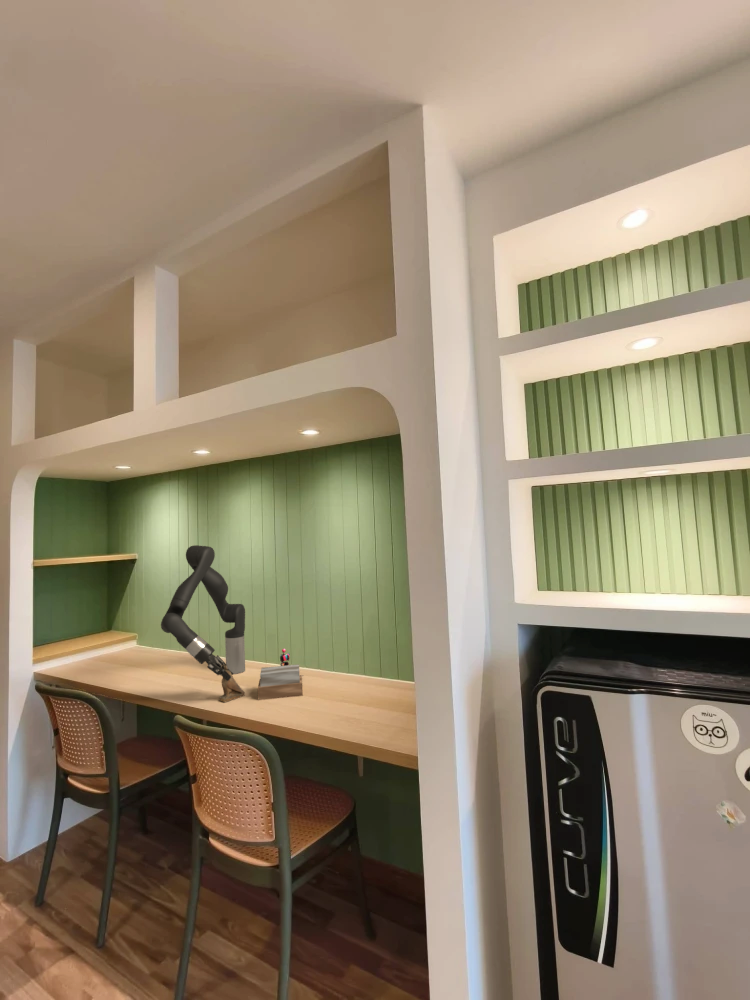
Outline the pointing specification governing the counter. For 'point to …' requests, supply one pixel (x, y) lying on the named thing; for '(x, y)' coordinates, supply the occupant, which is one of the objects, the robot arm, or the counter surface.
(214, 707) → the counter surface
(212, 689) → the counter surface
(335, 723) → the counter surface
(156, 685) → the counter surface
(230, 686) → the brown carved statuette
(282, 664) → the statue
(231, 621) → the robot arm
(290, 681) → the grey and brown block
